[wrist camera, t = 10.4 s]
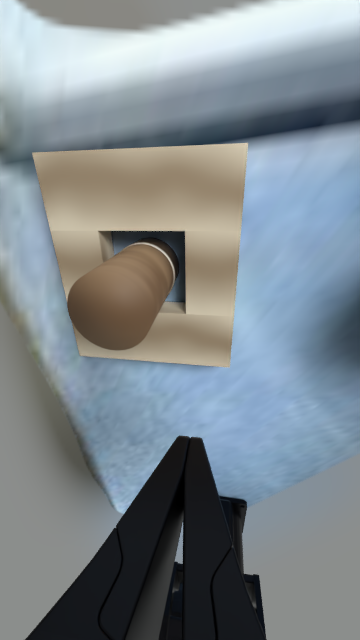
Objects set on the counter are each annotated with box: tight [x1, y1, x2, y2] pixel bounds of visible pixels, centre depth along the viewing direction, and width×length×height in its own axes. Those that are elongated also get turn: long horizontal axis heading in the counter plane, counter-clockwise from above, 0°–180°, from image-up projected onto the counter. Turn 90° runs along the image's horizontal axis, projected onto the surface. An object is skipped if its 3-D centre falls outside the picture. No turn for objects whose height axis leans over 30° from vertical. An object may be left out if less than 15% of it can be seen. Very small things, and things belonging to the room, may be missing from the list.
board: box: [32, 143, 248, 367], centre depth 18 cm, size 14×12×2 cm
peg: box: [67, 238, 179, 350], centre depth 16 cm, size 4×4×8 cm
